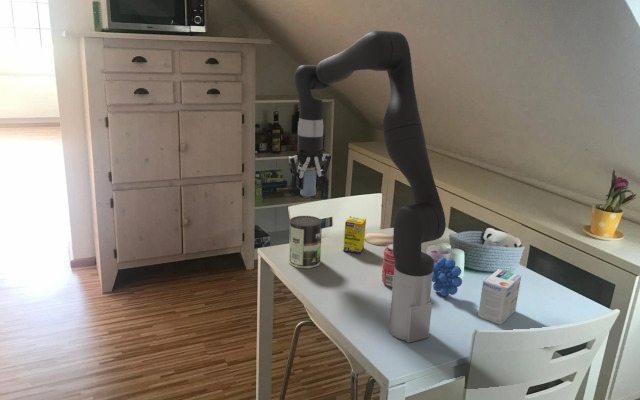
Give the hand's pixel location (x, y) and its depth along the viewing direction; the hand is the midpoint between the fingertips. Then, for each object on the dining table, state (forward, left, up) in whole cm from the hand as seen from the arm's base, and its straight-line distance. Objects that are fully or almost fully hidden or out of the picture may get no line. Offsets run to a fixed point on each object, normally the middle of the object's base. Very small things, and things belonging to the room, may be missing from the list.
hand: (308, 188), depth 164 cm
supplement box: (+3, -20, -25) cm, 32 cm away
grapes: (-36, -28, -25) cm, 52 cm away
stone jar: (0, 0, -2) cm, 2 cm away
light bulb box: (-50, -34, -25) cm, 65 cm away
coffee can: (0, 0, -25) cm, 25 cm away
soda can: (-24, -18, -25) cm, 39 cm away
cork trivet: (+8, -34, -25) cm, 42 cm away
